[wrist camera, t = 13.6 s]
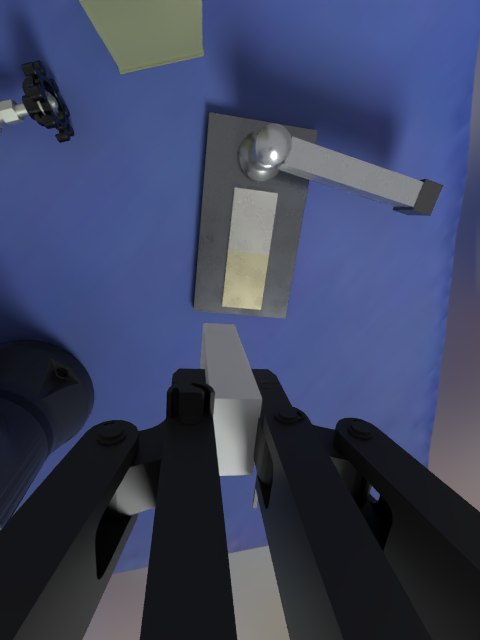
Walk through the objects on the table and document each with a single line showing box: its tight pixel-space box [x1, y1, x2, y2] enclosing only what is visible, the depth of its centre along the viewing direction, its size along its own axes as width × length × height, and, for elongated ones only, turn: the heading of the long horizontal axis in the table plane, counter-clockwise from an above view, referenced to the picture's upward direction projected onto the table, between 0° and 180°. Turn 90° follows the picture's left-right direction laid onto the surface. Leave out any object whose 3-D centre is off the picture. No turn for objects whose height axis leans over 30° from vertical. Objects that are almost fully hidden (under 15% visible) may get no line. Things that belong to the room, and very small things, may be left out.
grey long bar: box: [248, 124, 443, 216], centre depth 33 cm, size 19×3×6 cm, turn 74°
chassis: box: [194, 112, 318, 318], centre depth 38 cm, size 12×22×2 cm, turn 173°
